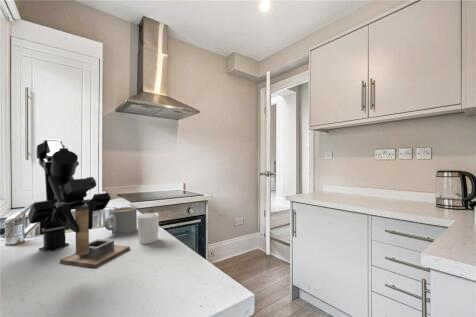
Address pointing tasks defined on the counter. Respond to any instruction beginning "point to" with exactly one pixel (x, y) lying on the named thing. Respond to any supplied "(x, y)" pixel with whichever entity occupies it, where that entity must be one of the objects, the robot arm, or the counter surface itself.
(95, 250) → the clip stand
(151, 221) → the white cup
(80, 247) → the wooden peg
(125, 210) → the coffee mug
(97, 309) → the counter surface
